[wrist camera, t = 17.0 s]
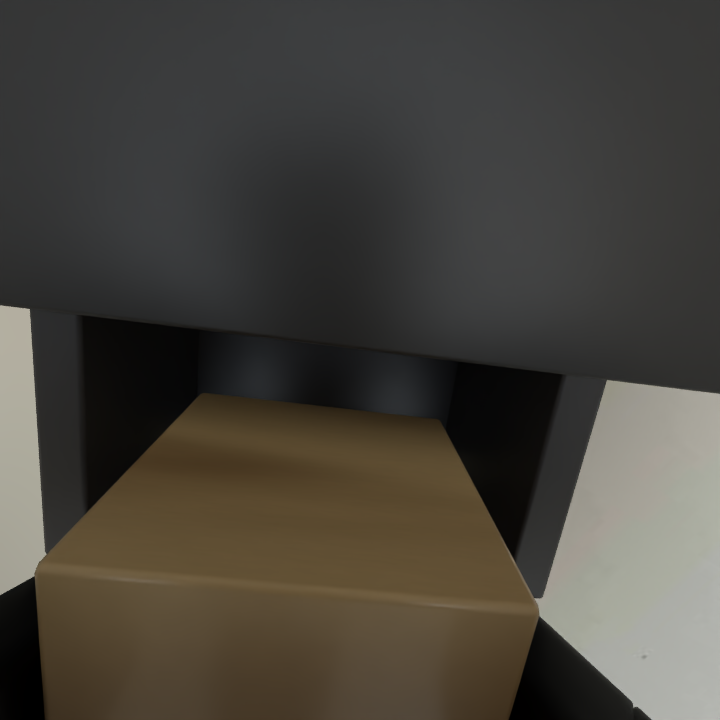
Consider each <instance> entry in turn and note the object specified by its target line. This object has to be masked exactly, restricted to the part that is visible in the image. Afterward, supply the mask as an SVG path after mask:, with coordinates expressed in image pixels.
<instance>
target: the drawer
mask: <svg viewBox="0 0 720 720" xmlns="http://www.w3.org/2000/svg"><path fill="white" fill-rule="evenodd" d="M30 317H31V332H32V349H33V365H34V380H35V397H36V413H37V428H38V444H39V460H40V476H41V491H42V508H43V524H44V540H45V552H46V554H48V553H49V552H50V551H51V549H52V548H53V547H54V546H55V545H56V544H57V543H58V542H59V541H60V540H61V539H62V538H63V537H64V536H65V535H66V534H67V533H68V532H69V531H70V530H71V529H72V528H73V527H74V525H75V524H76V523H77V522H78V521H79V520H80V519H81V518H82V517H83V516H84V515H85V514H86V513H87V512H88V511H89V510H90V509H91V508H92V507H93V506H94V505H95V504H96V503H97V501H98V500H99V499H100V498H101V497H102V496H103V495H104V494H105V493H106V492H107V491H108V490H109V489H110V488H111V487H112V486H113V485H114V484H115V483H116V482H117V481H118V480H119V479H120V477H121V476H122V475H123V474H124V473H125V472H126V471H127V470H128V469H129V468H130V467H131V466H132V465H133V464H134V463H135V462H136V461H137V460H138V459H139V458H140V457H141V456H142V455H143V454H144V452H145V451H146V450H147V449H148V448H149V447H150V446H151V445H152V444H153V443H154V442H155V441H156V440H157V439H158V438H159V437H160V436H161V435H162V434H163V433H164V432H165V431H166V430H167V428H168V427H169V426H170V425H171V424H172V423H173V422H174V421H175V420H176V419H177V418H178V417H179V416H180V415H181V414H182V413H183V412H184V411H185V410H186V409H187V408H188V407H189V406H190V404H191V403H192V402H193V401H194V400H195V399H196V398H197V397H198V396H199V395H200V394H202V393H210V394H219V395H228V396H237V397H245V398H254V399H263V400H272V401H281V402H290V403H299V404H308V405H317V406H325V407H334V408H343V409H352V410H361V411H370V412H379V413H388V414H396V415H405V416H414V417H423V418H432V419H438V420H440V421H441V423H442V425H443V427H444V429H445V431H446V433H447V435H448V436H449V438H450V440H451V442H452V444H453V446H454V448H455V450H456V452H457V453H458V455H459V457H460V459H461V461H462V463H463V465H464V467H465V469H466V470H467V472H468V474H469V476H470V478H471V480H472V482H473V484H474V486H475V487H476V489H477V491H478V493H479V495H480V497H481V499H482V501H483V503H484V504H485V506H486V508H487V510H488V512H489V514H490V516H491V518H492V520H493V521H494V523H495V525H496V527H497V529H498V531H499V533H500V535H501V537H502V538H503V540H504V542H505V544H506V546H507V548H508V550H509V552H510V554H511V555H512V557H513V559H514V561H515V563H516V565H517V567H518V569H519V571H520V572H521V574H522V576H523V578H524V580H525V582H526V584H527V586H528V588H529V589H530V591H531V593H532V595H533V597H534V598H542V597H543V594H544V591H545V587H546V584H547V581H548V577H549V574H550V571H551V567H552V564H553V560H554V557H555V554H556V550H557V547H558V543H559V540H560V537H561V533H562V530H563V527H564V523H565V520H566V516H567V513H568V510H569V506H570V503H571V499H572V496H573V493H574V489H575V486H576V483H577V479H578V476H579V472H580V469H581V466H582V462H583V459H584V455H585V452H586V449H587V445H588V442H589V439H590V435H591V432H592V428H593V425H594V422H595V418H596V415H597V411H598V408H599V405H600V401H601V398H602V395H603V391H604V388H605V384H606V381H607V380H604V379H596V378H588V377H579V376H571V375H563V374H555V373H547V372H539V371H531V370H523V369H514V368H506V367H498V366H490V365H482V364H474V363H466V362H458V361H450V360H441V359H433V358H425V357H417V356H409V355H401V354H393V353H385V352H376V351H368V350H360V349H352V348H344V347H336V346H328V345H320V344H311V343H303V342H295V341H287V340H279V339H271V338H263V337H255V336H246V335H238V334H230V333H222V332H214V331H206V330H198V329H190V328H181V327H173V326H165V325H157V324H149V323H141V322H133V321H125V320H116V319H108V318H100V317H92V316H84V315H76V314H68V313H60V312H51V311H43V310H35V309H30Z"/></svg>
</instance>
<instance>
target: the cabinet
mask: <svg viewBox="0 0 720 720" xmlns="http://www.w3.org/2000/svg"><path fill="white" fill-rule="evenodd" d="M0 305H3V306H11V307H19V308H27V309H35V310H43V311H51V312H60V313H68V314H76V315H84V316H92V317H100V318H108V319H116V320H125V321H133V322H141V323H149V324H157V325H165V326H173V327H181V328H190V329H198V330H206V331H214V332H222V333H230V334H238V335H246V336H255V337H263V338H271V339H279V340H287V341H295V342H303V343H311V344H320V345H328V346H336V347H344V348H352V349H360V350H368V351H376V352H385V353H393V354H401V355H409V356H417V357H425V358H433V359H441V360H450V361H458V362H466V363H474V364H482V365H490V366H498V367H506V368H514V369H523V370H531V371H539V372H547V373H555V374H563V375H571V376H579V377H588V378H596V379H604V380H612V381H620V382H628V383H636V384H644V385H653V386H661V387H669V388H677V389H685V390H693V391H701V392H709V393H718V394H720V0H0Z"/></svg>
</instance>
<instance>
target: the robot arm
mask: <svg viewBox="0 0 720 720" xmlns="http://www.w3.org/2000/svg"><path fill="white" fill-rule="evenodd" d="M0 720H45V715H44V701H43V686H42V672H41V658H40V644H39V629H38V615H37V601H36V587H35V576H34V577H32V578H31V579H29V580H27V581H25V582H23V583H22V584H20V585H18V586H16V587H14V588H13V589H11V590H9V591H7V592H5V593H4V594H2V595H0ZM509 720H651V719H650V718H649V717H648V716H647V715H646V714H645V713H644V712H643V711H642V710H641V709H639V708H638V707H634V708H633V703H632V701H631V700H630V699H628V698H627V697H626V696H625V695H624V694H623V693H622V692H621V691H620V690H619V689H618V688H617V687H615V686H614V685H613V684H612V683H611V682H610V681H609V680H608V679H607V678H606V677H605V676H604V675H602V674H601V673H600V672H599V671H598V670H597V669H596V668H595V667H594V666H593V665H592V664H591V663H590V662H588V661H587V660H586V659H585V658H584V657H583V656H582V655H581V654H580V653H579V652H578V651H577V650H575V649H574V648H573V647H572V646H571V645H570V644H569V643H568V642H567V641H566V640H565V639H564V638H563V637H561V636H560V635H559V634H558V633H557V632H556V631H555V630H554V629H553V628H552V627H551V626H550V625H548V624H547V623H546V622H545V621H544V620H543V619H542V618H541V617H540V616H539V618H538V622H537V625H536V628H535V632H534V635H533V639H532V642H531V645H530V649H529V652H528V656H527V659H526V663H525V666H524V669H523V673H522V676H521V680H520V683H519V687H518V690H517V693H516V697H515V700H514V704H513V707H512V711H511V714H510V717H509Z"/></svg>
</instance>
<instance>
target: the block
mask: <svg viewBox="0 0 720 720" xmlns="http://www.w3.org/2000/svg"><path fill="white" fill-rule="evenodd" d="M35 587H36V601H37V615H38V629H39V644H40V658H41V672H42V686H43V701H44V715H45V720H509V717H510V714H511V711H512V707H513V704H514V700H515V697H516V693H517V690H518V687H519V683H520V680H521V676H522V673H523V669H524V666H525V663H526V659H527V656H528V652H529V649H530V645H531V642H532V639H533V635H534V632H535V628H536V625H537V622H538V618H539V609H538V605H537V603H536V601H535V599H534V597H533V595H532V593H531V591H530V589H529V588H528V586H527V584H526V582H525V580H524V578H523V576H522V574H521V572H520V571H519V569H518V567H517V565H516V563H515V561H514V559H513V557H512V555H511V554H510V552H509V550H508V548H507V546H506V544H505V542H504V540H503V538H502V537H501V535H500V533H499V531H498V529H497V527H496V525H495V523H494V521H493V520H492V518H491V516H490V514H489V512H488V510H487V508H486V506H485V504H484V503H483V501H482V499H481V497H480V495H479V493H478V491H477V489H476V487H475V486H474V484H473V482H472V480H471V478H470V476H469V474H468V472H467V470H466V469H465V467H464V465H463V463H462V461H461V459H460V457H459V455H458V453H457V452H456V450H455V448H454V446H453V444H452V442H451V440H450V438H449V436H448V435H447V433H446V431H445V429H444V427H443V425H442V423H441V421H440V420H438V419H432V418H423V417H414V416H405V415H396V414H388V413H379V412H370V411H361V410H352V409H343V408H334V407H325V406H317V405H308V404H299V403H290V402H281V401H272V400H263V399H254V398H245V397H237V396H228V395H219V394H210V393H202V394H200V395H199V396H198V397H197V398H196V399H195V400H194V401H193V402H192V403H191V404H190V406H189V407H188V408H187V409H186V410H185V411H184V412H183V413H182V414H181V415H180V416H179V417H178V418H177V419H176V420H175V421H174V422H173V423H172V424H171V425H170V426H169V427H168V428H167V430H166V431H165V432H164V433H163V434H162V435H161V436H160V437H159V438H158V439H157V440H156V441H155V442H154V443H153V444H152V445H151V446H150V447H149V448H148V449H147V450H146V451H145V452H144V454H143V455H142V456H141V457H140V458H139V459H138V460H137V461H136V462H135V463H134V464H133V465H132V466H131V467H130V468H129V469H128V470H127V471H126V472H125V473H124V474H123V475H122V476H121V477H120V479H119V480H118V481H117V482H116V483H115V484H114V485H113V486H112V487H111V488H110V489H109V490H108V491H107V492H106V493H105V494H104V495H103V496H102V497H101V498H100V499H99V500H98V501H97V503H96V504H95V505H94V506H93V507H92V508H91V509H90V510H89V511H88V512H87V513H86V514H85V515H84V516H83V517H82V518H81V519H80V520H79V521H78V522H77V523H76V524H75V525H74V527H73V528H72V529H71V530H70V531H69V532H68V533H67V534H66V535H65V536H64V537H63V538H62V539H61V540H60V541H59V542H58V543H57V544H56V545H55V546H54V547H53V548H52V549H51V551H50V552H49V553H48V554H47V555H46V556H45V557H44V558H43V559H42V560H41V561H40V562H39V564H38V566H37V568H36V571H35Z"/></svg>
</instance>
